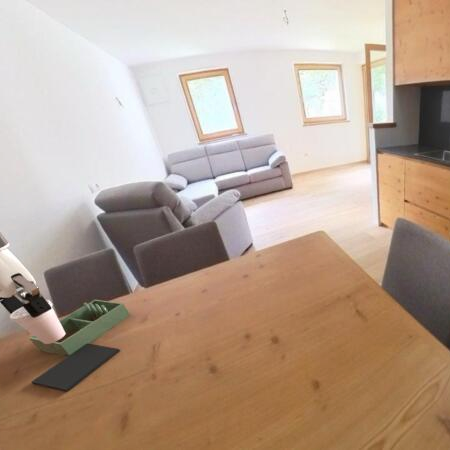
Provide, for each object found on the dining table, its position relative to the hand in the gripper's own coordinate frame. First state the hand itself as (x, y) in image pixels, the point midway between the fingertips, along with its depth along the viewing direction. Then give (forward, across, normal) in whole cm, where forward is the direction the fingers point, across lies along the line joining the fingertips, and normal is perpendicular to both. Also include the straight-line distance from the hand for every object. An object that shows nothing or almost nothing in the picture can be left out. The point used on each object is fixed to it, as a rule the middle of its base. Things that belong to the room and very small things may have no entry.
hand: (31, 310), depth 66 cm
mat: (+20, 0, 0) cm, 20 cm away
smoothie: (+9, 0, 0) cm, 9 cm away
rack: (+20, -12, +10) cm, 25 cm away
